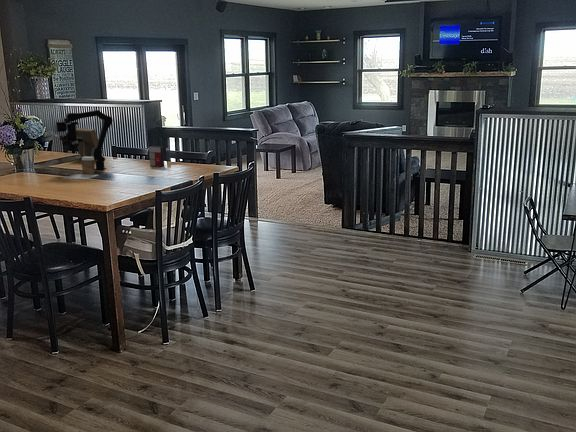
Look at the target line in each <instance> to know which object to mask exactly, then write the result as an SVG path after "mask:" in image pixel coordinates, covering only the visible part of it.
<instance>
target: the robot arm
mask: <svg viewBox="0 0 576 432" xmlns="http://www.w3.org/2000/svg"><path fill="white" fill-rule="evenodd" d="M92 117H98V119H100V120H101V129H100V131H99V135H98V137H97V138H98V141H97V144H96V147H95V148H92V151H91V156H92V157H94V159H95V160H94V162H95V171H104V170H107V167H105V160H106V158H105V157H104V156H103V145H104V143H105V140H106V137H107V134H108V130H109V129H110V127H111V125H112V123H113V121H114V119H113V117H112V116H110V115H107V114H105V113H103V112H102V111H100V110H99V109H95V110H90V111H85V112H68V113H66V115H65V118H64V120H63V121H60V122H59V121H55V132H57V133H65V132H66V131H67V132H66V133H65V134H66V135H63V134H62V135H59V140H60V141H61V145H65V146H69V147H70V149H71V152H72V154H76V152H77V150H78V145H79V144H80V143H78V142H84V139H83V138H77V134H78V132H76V128H77V125H80V123H79V122H78V120H80V119H86V118H92Z"/></svg>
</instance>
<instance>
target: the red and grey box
mask: <svg viewBox="0 0 576 432" xmlns="http://www.w3.org/2000/svg"><path fill="white" fill-rule="evenodd" d="M148 152H149V166H150V167H153V166H154V167H156V168H159V167H160V168H163V166H164V167H165V157H164V155H165V154H164V152H165V147H164V145H163V146H161V145H160V146H159V145H149V146H148Z"/></svg>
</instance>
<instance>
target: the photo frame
mask: <svg viewBox="0 0 576 432" xmlns="http://www.w3.org/2000/svg"><path fill="white" fill-rule="evenodd" d="M76 132H78V134H77V138H83V139H84V142H78V143H80V144H79V145H78V148H77V150H78V153H79V156H80V158H81V157H92V156H91V151H92V148H95V147H96V144H97V141H98V138H99V137H98V134H97V132H96V129H95V128H82V127H81V128H79V127H76ZM94 161H95V159H94Z"/></svg>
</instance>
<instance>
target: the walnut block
mask: <svg viewBox="0 0 576 432" xmlns="http://www.w3.org/2000/svg"><path fill="white" fill-rule="evenodd" d="M81 158H82V159H81ZM80 159H81V168H82V174H88V175H96V170H95V169H96V164H95V160H94V157H80Z"/></svg>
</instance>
